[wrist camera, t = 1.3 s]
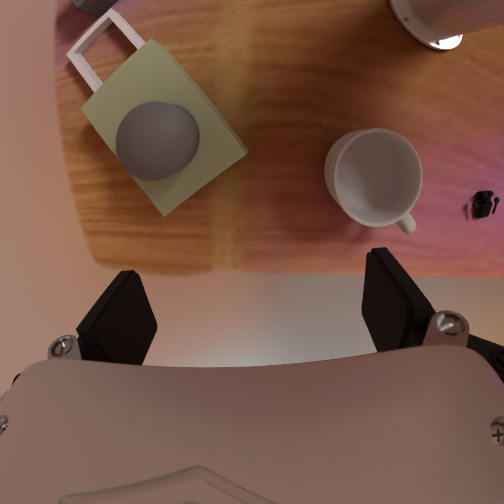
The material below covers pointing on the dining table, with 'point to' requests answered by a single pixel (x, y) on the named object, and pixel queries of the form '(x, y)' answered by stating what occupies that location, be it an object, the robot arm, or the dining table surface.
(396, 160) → the teacup
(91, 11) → the grey block
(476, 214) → the wireless earbuds
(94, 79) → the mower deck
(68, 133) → the dining table surface
